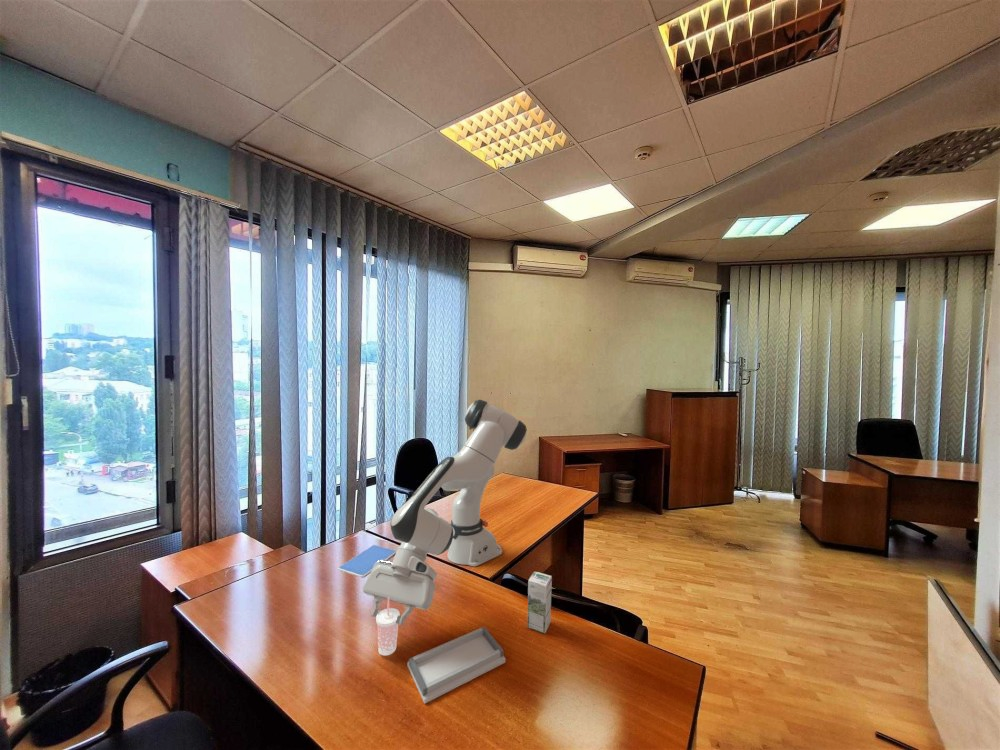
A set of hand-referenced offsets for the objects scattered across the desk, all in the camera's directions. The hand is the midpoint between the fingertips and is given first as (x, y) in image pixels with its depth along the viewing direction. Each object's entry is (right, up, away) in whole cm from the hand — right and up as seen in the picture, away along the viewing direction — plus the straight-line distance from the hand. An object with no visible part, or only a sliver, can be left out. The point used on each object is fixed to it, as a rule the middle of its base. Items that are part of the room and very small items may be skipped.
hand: (386, 621), depth 95 cm
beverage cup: (0, -8, +1) cm, 8 cm away
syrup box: (+42, -10, +12) cm, 44 cm away
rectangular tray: (+19, -9, -3) cm, 21 cm away
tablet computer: (-21, -8, +44) cm, 50 cm away
